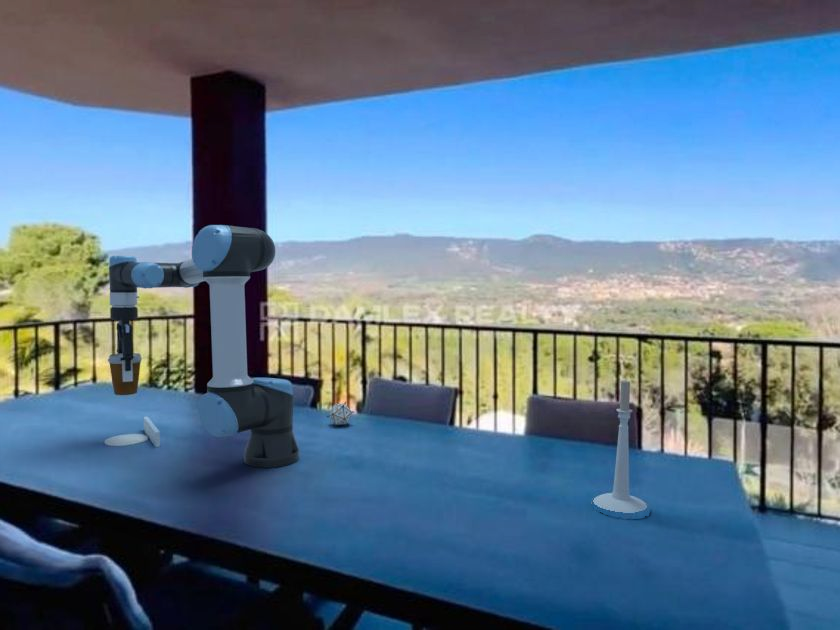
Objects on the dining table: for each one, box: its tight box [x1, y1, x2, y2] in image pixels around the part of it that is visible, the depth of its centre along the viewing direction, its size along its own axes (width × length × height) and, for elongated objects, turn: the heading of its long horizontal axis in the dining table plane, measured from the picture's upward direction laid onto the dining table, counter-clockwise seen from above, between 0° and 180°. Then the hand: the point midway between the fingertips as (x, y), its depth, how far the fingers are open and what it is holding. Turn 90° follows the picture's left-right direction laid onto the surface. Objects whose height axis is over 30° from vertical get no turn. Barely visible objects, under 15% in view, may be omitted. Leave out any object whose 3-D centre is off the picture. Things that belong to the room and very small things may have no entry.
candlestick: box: [592, 379, 648, 513], centre depth 134 cm, size 13×13×30 cm
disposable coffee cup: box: [107, 352, 143, 396], centre depth 182 cm, size 10×10×12 cm
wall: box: [143, 416, 161, 448], centre depth 186 cm, size 22×1×4 cm, turn 34°
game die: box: [326, 401, 355, 428], centre depth 205 cm, size 9×8×10 cm
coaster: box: [104, 433, 149, 447], centre depth 183 cm, size 12×12×1 cm
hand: (125, 378), depth 182 cm, fingers closed on disposable coffee cup, 9 cm apart
